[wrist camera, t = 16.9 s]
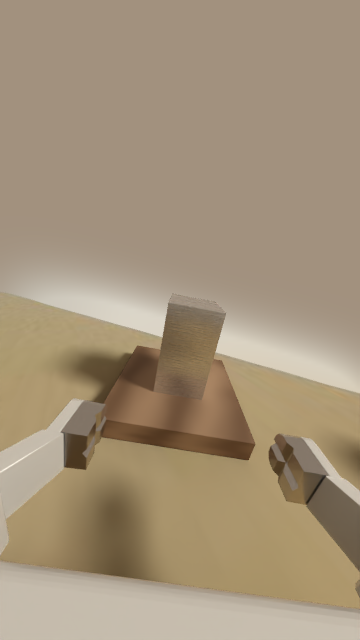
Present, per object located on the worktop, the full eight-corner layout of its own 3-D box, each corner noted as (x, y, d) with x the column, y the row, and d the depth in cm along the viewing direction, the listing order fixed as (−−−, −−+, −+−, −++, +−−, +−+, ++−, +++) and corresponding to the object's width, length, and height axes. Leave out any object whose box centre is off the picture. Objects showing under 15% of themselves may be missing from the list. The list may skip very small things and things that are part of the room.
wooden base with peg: (93, 435, 15) (97, 367, 13) (135, 356, 29) (141, 316, 27) (248, 460, 16) (275, 397, 14) (218, 371, 29) (230, 332, 27)
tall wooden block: (153, 391, 19) (168, 302, 16) (159, 364, 24) (172, 293, 21) (201, 400, 19) (225, 313, 16) (198, 371, 24) (215, 302, 21)
